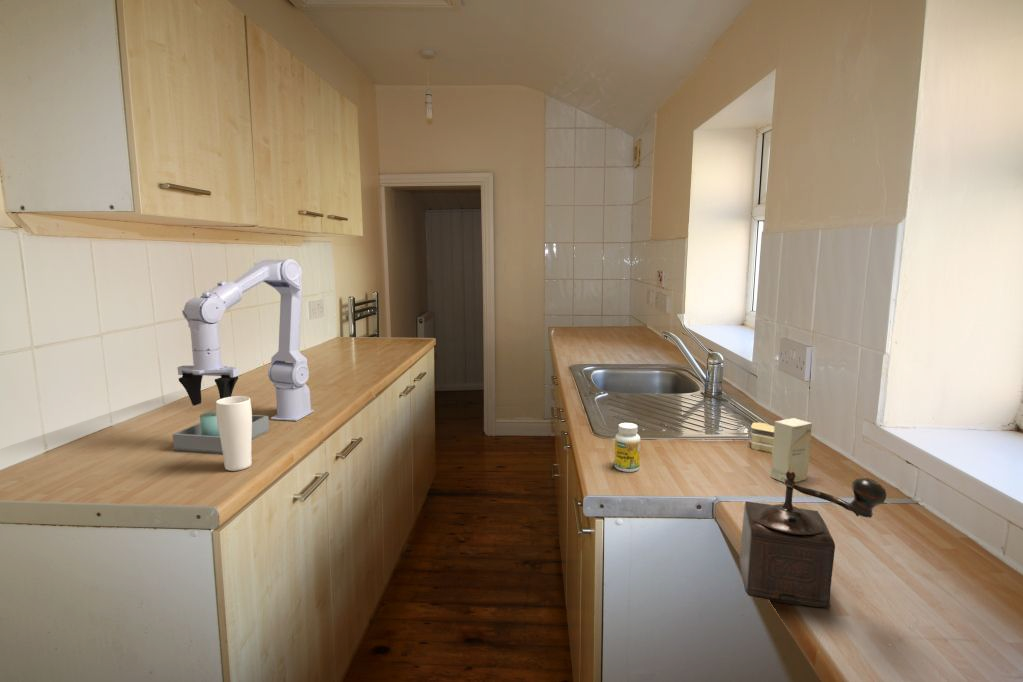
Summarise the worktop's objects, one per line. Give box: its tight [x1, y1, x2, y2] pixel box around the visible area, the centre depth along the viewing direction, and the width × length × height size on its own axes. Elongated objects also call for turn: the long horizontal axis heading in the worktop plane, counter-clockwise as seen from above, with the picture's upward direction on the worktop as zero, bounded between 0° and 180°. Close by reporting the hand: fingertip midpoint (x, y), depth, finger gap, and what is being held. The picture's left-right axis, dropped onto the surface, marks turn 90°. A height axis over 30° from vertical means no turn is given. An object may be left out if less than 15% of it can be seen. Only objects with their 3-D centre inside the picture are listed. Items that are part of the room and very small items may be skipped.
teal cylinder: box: [199, 411, 220, 436], centre depth 132 cm, size 5×5×7 cm
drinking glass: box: [215, 395, 253, 472], centre depth 118 cm, size 7×7×15 cm
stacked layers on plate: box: [749, 422, 775, 454], centre depth 132 cm, size 10×9×6 cm
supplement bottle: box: [614, 422, 641, 473], centre depth 119 cm, size 5×5×10 cm
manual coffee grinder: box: [739, 471, 887, 608], centre depth 76 cm, size 16×11×18 cm
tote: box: [172, 414, 270, 455], centre depth 136 cm, size 17×13×4 cm
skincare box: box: [770, 417, 813, 483], centre depth 114 cm, size 6×4×12 cm
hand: (211, 405), depth 131 cm, fingers open, 7 cm apart
